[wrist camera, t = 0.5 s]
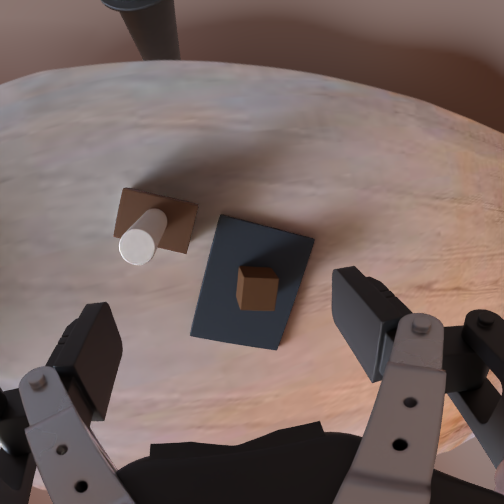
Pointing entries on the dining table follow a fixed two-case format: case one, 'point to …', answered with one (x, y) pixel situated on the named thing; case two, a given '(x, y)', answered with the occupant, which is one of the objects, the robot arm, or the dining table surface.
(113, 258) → the dining table surface
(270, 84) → the dining table surface
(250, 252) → the mat
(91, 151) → the dining table surface
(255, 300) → the brown cube
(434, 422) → the robot arm
